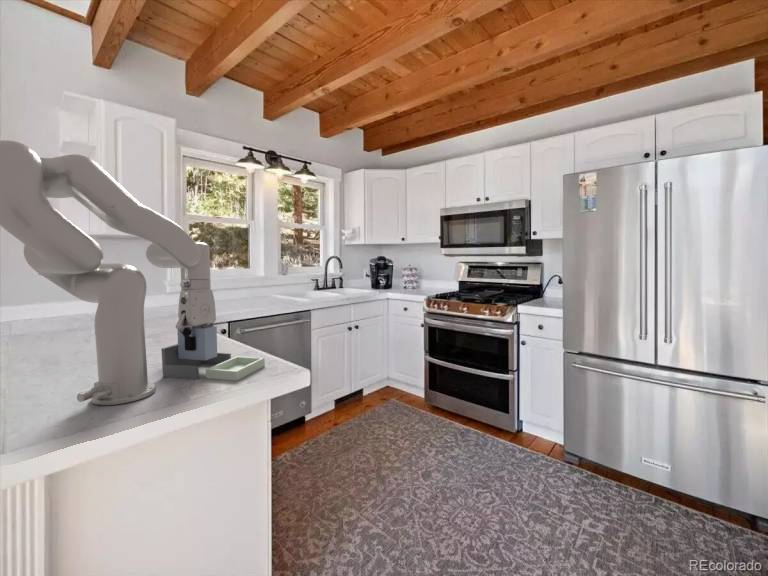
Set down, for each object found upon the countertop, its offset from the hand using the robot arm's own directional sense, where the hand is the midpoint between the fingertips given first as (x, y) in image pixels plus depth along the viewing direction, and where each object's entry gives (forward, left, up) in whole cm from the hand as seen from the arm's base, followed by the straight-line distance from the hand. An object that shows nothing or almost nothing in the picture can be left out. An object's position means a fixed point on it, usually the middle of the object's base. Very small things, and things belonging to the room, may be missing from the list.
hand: (197, 347), depth 106 cm
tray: (+2, -11, -7) cm, 13 cm away
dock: (+1, 0, -7) cm, 7 cm away
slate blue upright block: (0, 0, -3) cm, 3 cm away
